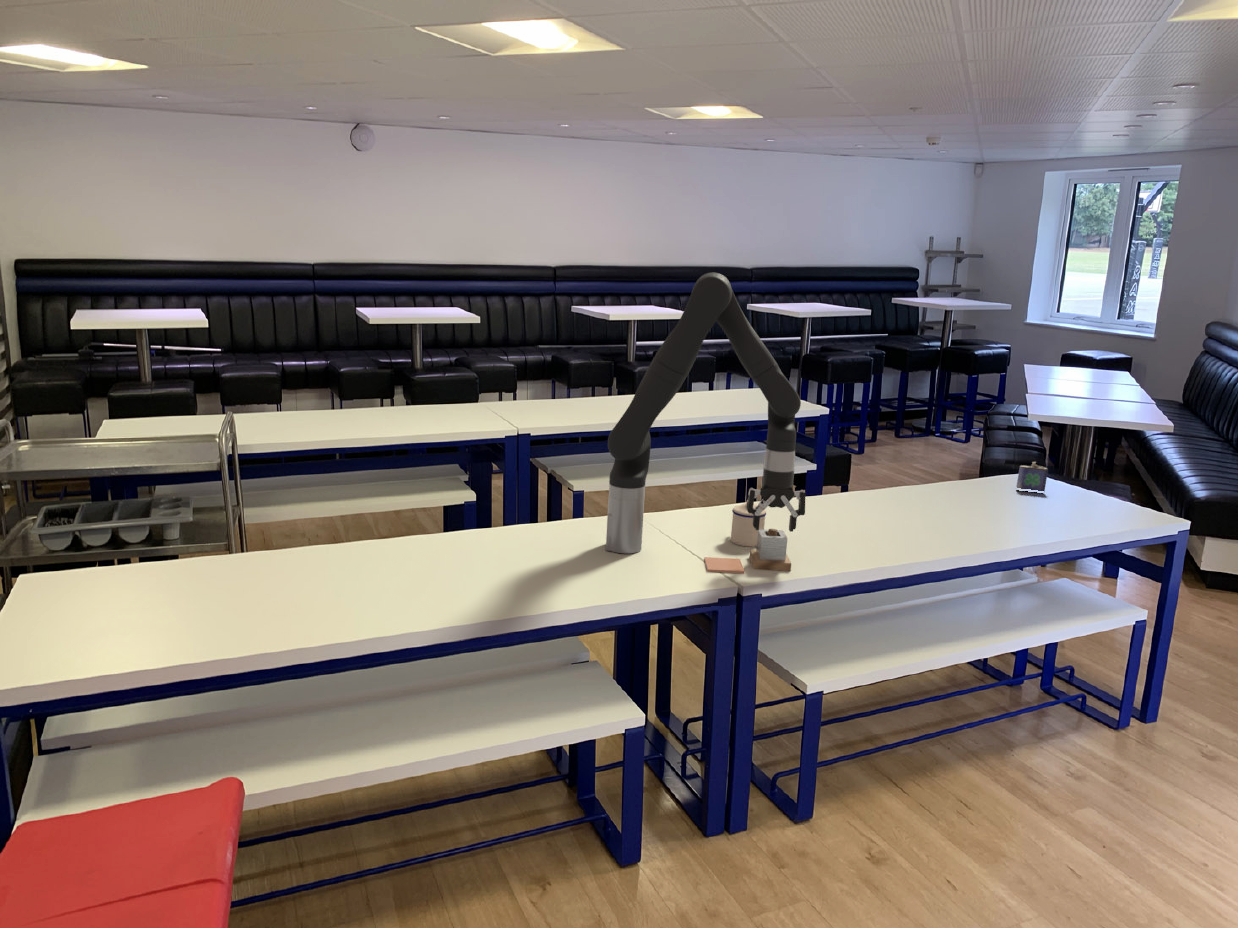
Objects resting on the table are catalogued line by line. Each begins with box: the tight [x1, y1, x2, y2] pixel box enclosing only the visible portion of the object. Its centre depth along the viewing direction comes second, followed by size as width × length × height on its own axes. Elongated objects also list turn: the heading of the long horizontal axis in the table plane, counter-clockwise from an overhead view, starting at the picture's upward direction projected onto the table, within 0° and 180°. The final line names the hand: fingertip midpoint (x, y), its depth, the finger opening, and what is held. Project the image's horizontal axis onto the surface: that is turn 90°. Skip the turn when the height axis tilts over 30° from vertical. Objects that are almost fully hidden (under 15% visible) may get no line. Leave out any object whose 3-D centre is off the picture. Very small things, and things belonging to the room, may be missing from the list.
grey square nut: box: [755, 529, 788, 561], centre depth 233 cm, size 6×6×6 cm
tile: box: [703, 556, 745, 574], centre depth 231 cm, size 9×9×1 cm
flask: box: [1016, 461, 1049, 492], centre depth 321 cm, size 9×3×11 cm, turn 75°
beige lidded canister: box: [730, 500, 767, 548], centre depth 251 cm, size 12×9×12 cm
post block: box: [749, 528, 792, 572], centre depth 233 cm, size 9×9×9 cm
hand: (774, 529), depth 232 cm, fingers open, 8 cm apart
